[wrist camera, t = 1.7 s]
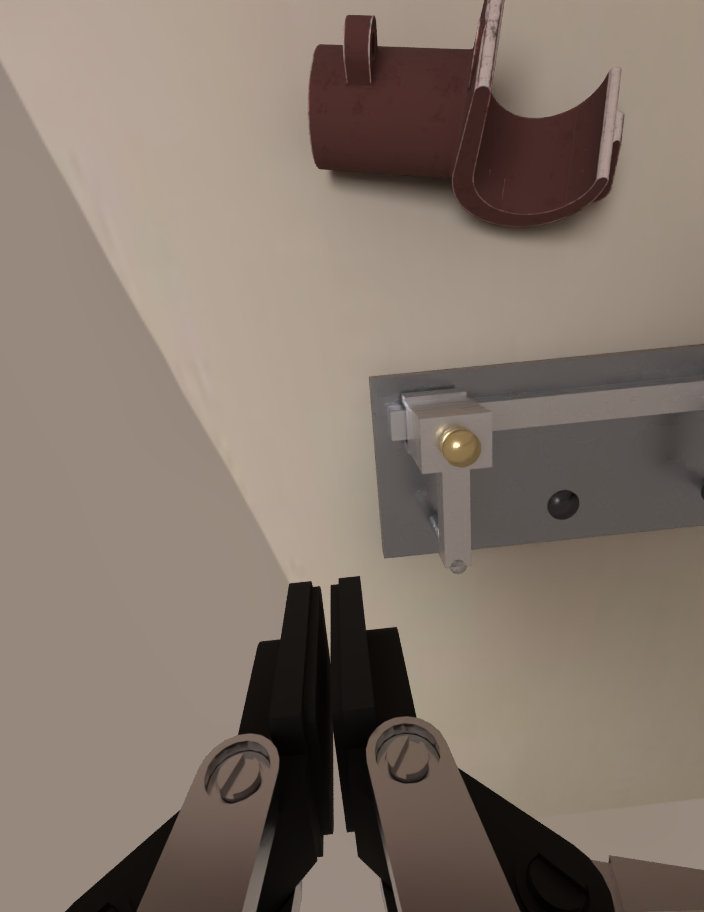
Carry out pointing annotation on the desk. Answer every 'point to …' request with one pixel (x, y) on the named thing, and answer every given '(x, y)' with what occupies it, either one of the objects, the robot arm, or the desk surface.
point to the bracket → (459, 125)
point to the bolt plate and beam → (556, 449)
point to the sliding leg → (449, 461)
